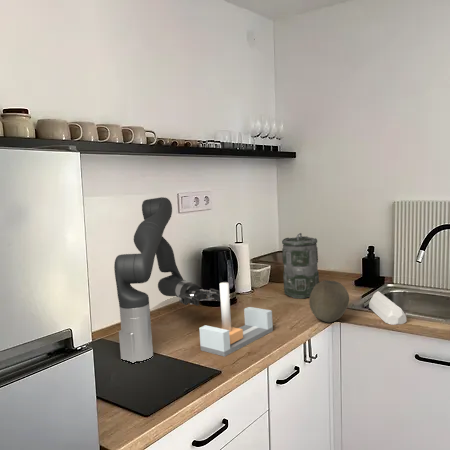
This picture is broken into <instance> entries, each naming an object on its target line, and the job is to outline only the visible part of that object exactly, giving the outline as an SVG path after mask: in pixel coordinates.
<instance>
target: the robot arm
mask: <svg viewBox="0 0 450 450" xmlns="http://www.w3.org/2000/svg"><path fill="white" fill-rule="evenodd" d="M141 211H142V212H141V213H142V218H143V220H142V221H141V222H140V223H139V224H138V226H137V228H136V230H135V232H134V235H133V242H134V245H135V248H136V249H137V250H138V251H139V253H128V254H127V253H125V254H123V253H122V254H118V255H117V256H116V258H115V259H114V267H113V268H114V277H115V278H114V279H115V283H116V284H115V285H116V290H117V291H116V292H117V299H118V304H119V305H118V306H119V317H120V318H119V319H120V330H118V338H119V339H118V340H119V350H120V360H121V359H123V360H127V361H130V362H132V363H134V362H136V361H143V360H146V359H149V358H151V357H152V356H153V357H154V348H153V336H152V335H153V334H152V324H151V310H150V299H149V294H148V293H146V292H145V291H140V290H138V289H136V288H135V287H133V286H132V285H133V284H144V283H147V282H148V281H149V280H150V278H151V276H152V272H153V268H154V267H153V266H154V261H155V257H156V261H157V265H158V269H159V272H161V273H164V274H165V273H171V275H168V276H165V277H163V278H160V279H159V281H158V284H157V288H158V291H159V292H160V293H161V294H162V295H163V296H166V297H177V298H178V299H179V303H180V304H183V305H185V306H187V305H194V306H197V307H199V306H200V301H201V302H202V301H211V300H215V301H216V302H221V301H220V290H218V289H215V288H209V290H208V289H203V287H201V285H200V284H197V283H195V282H192V281H189V280H185V279H184V278H183V275H181V273H180V271H179V269H178V266H177V263H176V258H175V253H174V250H173V248H172V247H173V246H172V245H171V244H170V243H169V241H168V240H167V239H166V238H165V237H164V236H163V234H164V232H165V229H166V227H167V225H168V223H169V221H170V220H171V218H172V214H173V204H172V202H171V200H170V198H169V197H164V196H163V197H162V196H161V197H154V198H149V199H144V200H143V201H142V204H141ZM153 357H152V358H153ZM152 358H151V359H152ZM149 360H150V359H149Z"/></svg>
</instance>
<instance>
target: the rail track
mask: <svg viewBox="0 0 450 450" xmlns="http://www.w3.org/2000/svg"><path fill="white" fill-rule="evenodd" d="M243 312H244V315H243V316H244V325H242V326H239V327H238V328H239V329H243V338H242V339H240V340H238V341H236V342H234V343H232V344H230V335H229V330H225V329H221V328H222V327H221V328H220V327H216V326H210V325H205V324H204V325H203V326H201V327H199V343H200V351H202V352H206V353H209V354H213V355H218V356H222V357H224V358H225V357H227V356H228V355H231V354H233V353H234V352H236V351H238V350H240V349H242V348H244V347H246V346H247V345H249V344H251V343H253V342H255V341H257V340H258V339H261V338H262V337H265V336H267V335H268V334H270V333H272V332H273V331H274V328H273V311H272V310H270V309H265V308H258V307H253V306H248V307H245V308H243Z"/></svg>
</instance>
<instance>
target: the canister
mask: <svg viewBox="0 0 450 450" xmlns="http://www.w3.org/2000/svg"><path fill="white" fill-rule="evenodd" d="M281 243H282V264H283V275H282V276H283V290H284V292H283V293H284V295H286V296H288V297H290V298H293V299H299V300H300V299H306V298H310V294H311V292H312V290H313V288H314V287H315V285H316V284H318V283H319V282H320V278H319V277H320V275H319V273H320V272H319V271H318V263H319V255H318V254H319V253H318V251H319V250H318V249H319V248H318V247H317V243H318V239H317V238H316V237H315V238H314V237H309V236H303V235H302V232H300V233H298V234H297V235H296V237H285V238H284V239H282V240H281Z"/></svg>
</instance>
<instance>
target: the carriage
mask: <svg viewBox="0 0 450 450" xmlns="http://www.w3.org/2000/svg"><path fill="white" fill-rule="evenodd" d="M219 291H220V301H219V302H220V313H221V314H220V315H221V329H225V330H229V335H230V344H232V343H234V342H236V341H238V340H240V339H242V338H243V329H239V328H240V327H234V326H232V319H231V300H230V284H229V282H227V281H223V282H220V283H219Z"/></svg>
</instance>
